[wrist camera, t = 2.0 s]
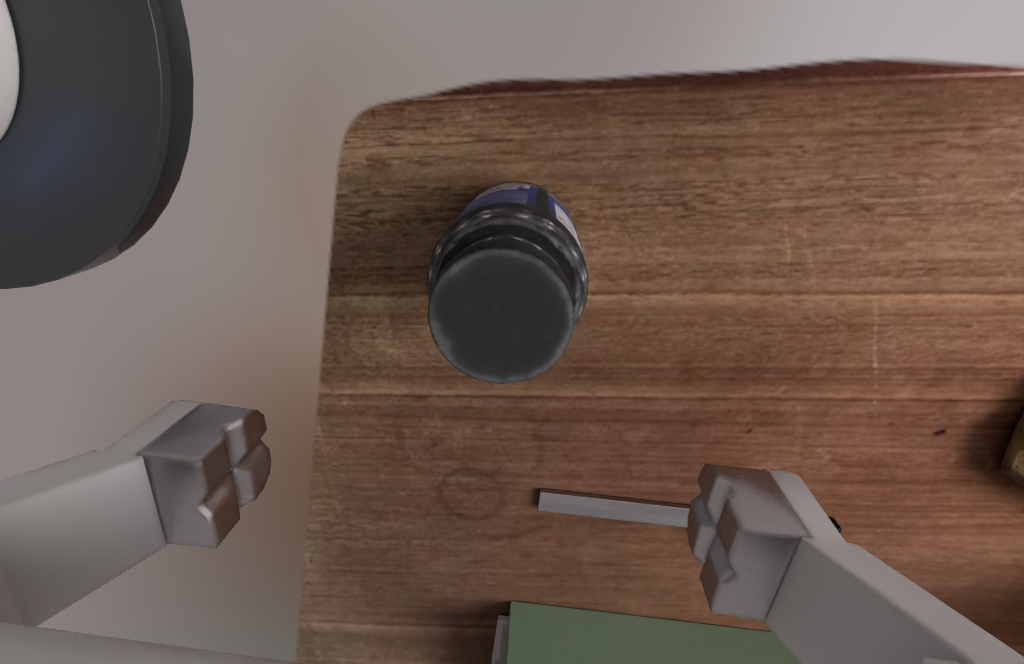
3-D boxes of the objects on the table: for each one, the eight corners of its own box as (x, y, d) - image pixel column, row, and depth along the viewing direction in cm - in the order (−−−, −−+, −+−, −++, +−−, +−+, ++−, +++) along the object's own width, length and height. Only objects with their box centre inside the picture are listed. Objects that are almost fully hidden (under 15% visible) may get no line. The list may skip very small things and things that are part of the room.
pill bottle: (444, 271, 26) (381, 365, 16) (481, 160, 24) (434, 189, 14) (549, 311, 27) (551, 427, 17) (596, 206, 24) (631, 268, 14)
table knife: (537, 509, 33) (537, 521, 32) (540, 484, 32) (540, 495, 31) (821, 542, 32) (830, 554, 31) (833, 517, 31) (842, 529, 30)
